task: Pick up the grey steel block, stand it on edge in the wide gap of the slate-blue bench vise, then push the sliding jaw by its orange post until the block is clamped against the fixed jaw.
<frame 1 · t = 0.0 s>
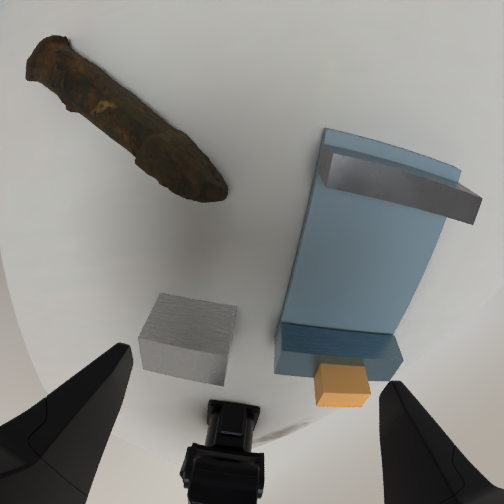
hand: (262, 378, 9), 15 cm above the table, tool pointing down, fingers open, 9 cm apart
vise: (363, 261, 23), on the table
steel block: (197, 315, 28), on the table
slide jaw: (341, 367, 23), point 4 cm above the table, slide at 0.0 cm
brown wooden stick: (136, 105, 19), on the table
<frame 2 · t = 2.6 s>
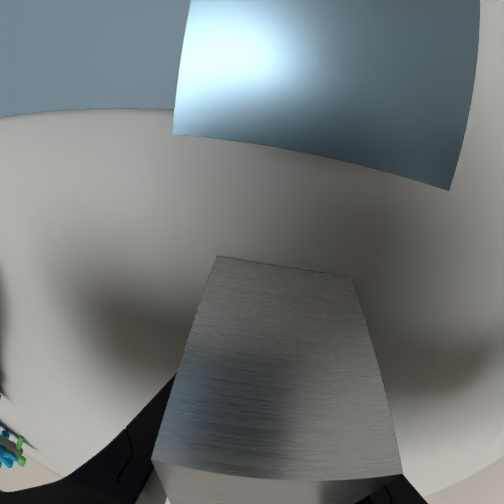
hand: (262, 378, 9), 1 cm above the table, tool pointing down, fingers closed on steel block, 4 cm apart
steel block: (264, 349, 10), on the table, touching gripper
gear: (1, 421, 24), on the table
when the fingers open (3 cm above the table, at t = 7.4 s): steel block stays where it is, resting on vise.
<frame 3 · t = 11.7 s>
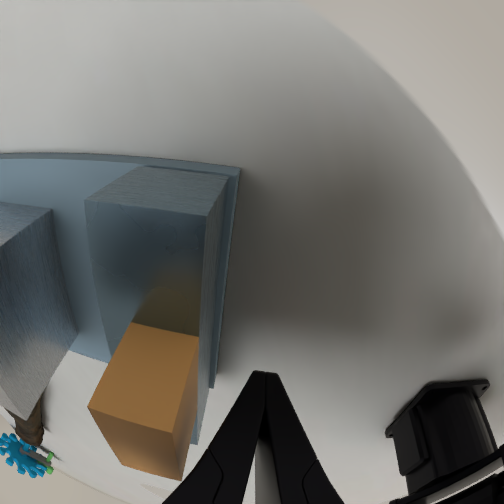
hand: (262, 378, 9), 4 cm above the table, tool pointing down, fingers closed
vise: (45, 259, 13), on the table
steel block: (35, 271, 12), point 1 cm above the table, touching vise
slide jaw: (153, 367, 9), point 4 cm above the table, slide at 0.2 cm, touching gripper
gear: (32, 440, 33), on the table
brown wooden stick: (31, 393, 22), on the table
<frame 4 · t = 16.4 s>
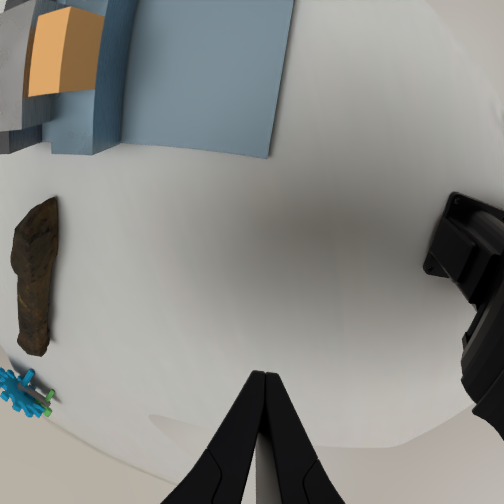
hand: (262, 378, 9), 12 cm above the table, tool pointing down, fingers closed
vise: (128, 58, 15), on the table
steel block: (65, 65, 14), point 1 cm above the table, touching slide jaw, vise
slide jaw: (77, 55, 11), point 4 cm above the table, slide at 9.0 cm, touching steel block
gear: (32, 376, 35), on the table
brown wooden stick: (41, 273, 24), on the table
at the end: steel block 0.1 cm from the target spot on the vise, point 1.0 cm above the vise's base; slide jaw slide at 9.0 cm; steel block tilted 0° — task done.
